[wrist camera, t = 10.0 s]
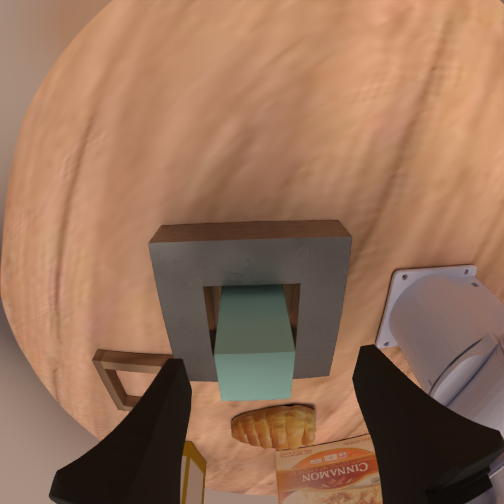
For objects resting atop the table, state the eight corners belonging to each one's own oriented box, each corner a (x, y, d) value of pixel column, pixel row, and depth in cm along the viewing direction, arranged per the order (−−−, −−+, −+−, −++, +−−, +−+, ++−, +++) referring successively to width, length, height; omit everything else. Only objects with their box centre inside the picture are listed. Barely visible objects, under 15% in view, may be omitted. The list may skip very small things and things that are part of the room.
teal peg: (279, 273, 21) (295, 351, 14) (278, 317, 23) (290, 398, 16) (223, 274, 21) (213, 354, 14) (227, 319, 23) (221, 400, 16)
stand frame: (174, 355, 25) (171, 367, 23) (189, 406, 28) (187, 417, 27) (97, 349, 24) (91, 360, 23) (121, 399, 28) (118, 409, 27)
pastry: (235, 434, 31) (234, 460, 28) (227, 404, 28) (225, 433, 25) (311, 428, 31) (316, 453, 27) (315, 397, 28) (321, 426, 25)
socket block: (338, 220, 20) (352, 236, 17) (321, 351, 25) (328, 375, 22) (161, 225, 19) (148, 243, 17) (185, 355, 25) (180, 380, 22)
